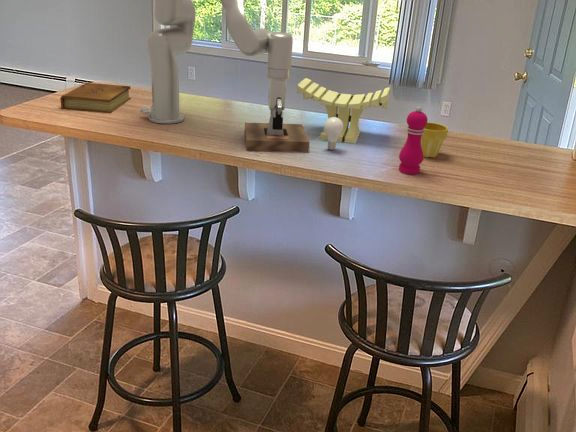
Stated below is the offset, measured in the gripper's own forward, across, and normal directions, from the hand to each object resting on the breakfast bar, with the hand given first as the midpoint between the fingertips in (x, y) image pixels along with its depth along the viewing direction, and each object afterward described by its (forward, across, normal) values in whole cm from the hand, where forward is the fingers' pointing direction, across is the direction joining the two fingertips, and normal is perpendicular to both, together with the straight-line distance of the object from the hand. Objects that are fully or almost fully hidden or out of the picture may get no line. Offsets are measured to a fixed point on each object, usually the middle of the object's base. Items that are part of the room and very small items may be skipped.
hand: (276, 125), depth 191 cm
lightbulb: (+6, +7, +18) cm, 20 cm away
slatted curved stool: (+6, -10, +24) cm, 27 cm away
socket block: (+6, 0, 0) cm, 6 cm away
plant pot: (+6, +9, +50) cm, 51 cm away
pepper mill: (+6, +25, +39) cm, 47 cm away
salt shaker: (+6, 0, 0) cm, 6 cm away
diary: (+6, -42, -66) cm, 78 cm away
